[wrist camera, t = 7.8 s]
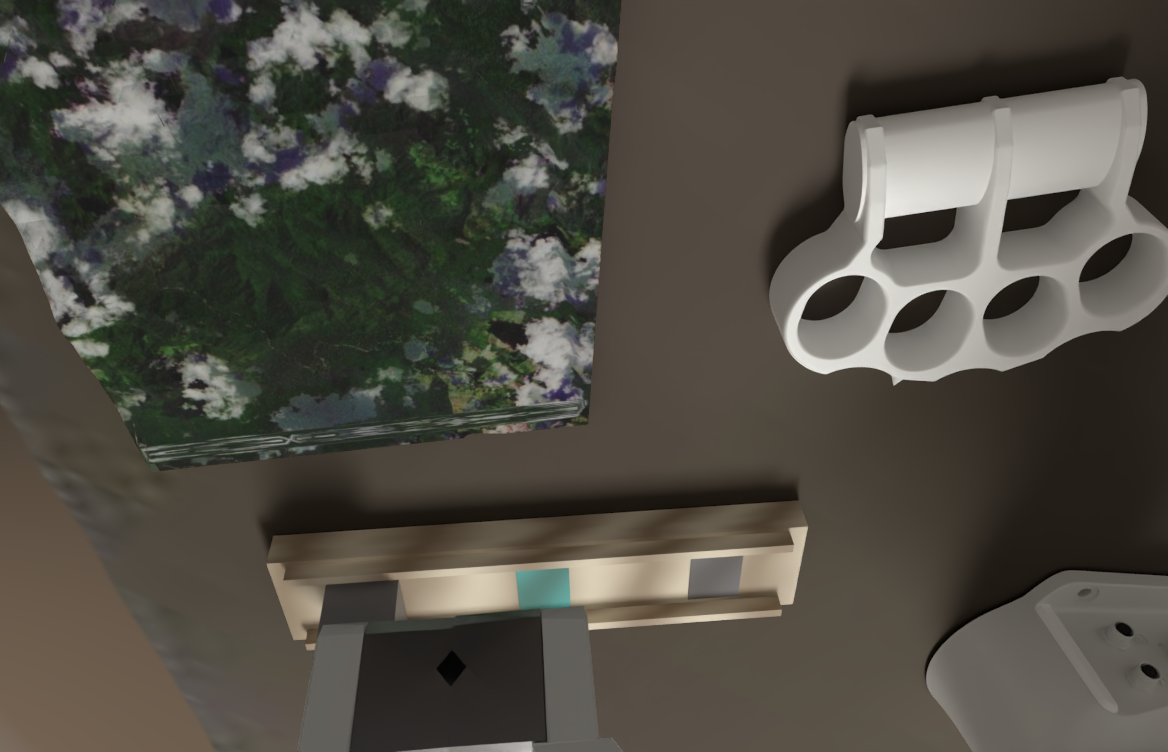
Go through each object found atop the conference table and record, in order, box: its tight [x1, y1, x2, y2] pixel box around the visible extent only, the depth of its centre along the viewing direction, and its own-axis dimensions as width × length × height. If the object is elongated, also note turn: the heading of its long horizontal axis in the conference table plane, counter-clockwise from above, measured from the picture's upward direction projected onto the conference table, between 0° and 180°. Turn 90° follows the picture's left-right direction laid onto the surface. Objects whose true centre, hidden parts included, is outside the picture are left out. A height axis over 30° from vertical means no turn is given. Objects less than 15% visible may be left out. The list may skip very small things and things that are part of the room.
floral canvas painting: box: [0, 0, 621, 472], centre depth 38 cm, size 26×33×3 cm
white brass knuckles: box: [769, 77, 1168, 386], centre depth 43 cm, size 3×18×15 cm
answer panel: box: [267, 500, 808, 650], centre depth 55 cm, size 30×7×3 cm, turn 91°
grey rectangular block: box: [310, 580, 408, 675], centre depth 51 cm, size 4×4×6 cm
